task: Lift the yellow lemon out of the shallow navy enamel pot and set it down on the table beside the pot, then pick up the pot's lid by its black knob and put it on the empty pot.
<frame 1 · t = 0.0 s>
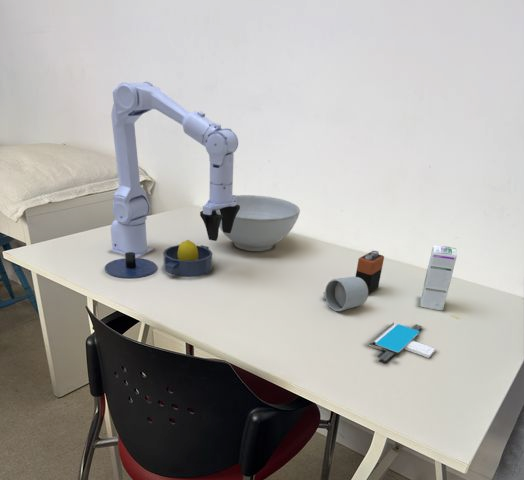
hand: (220, 236, 130), 10 cm above the table, tool pointing down, fingers open, 7 cm apart
pot: (188, 269, 136), on the table
pot lid: (131, 268, 132), point 1 cm above the table
battery: (365, 290, 132), on the table
lemon: (188, 269, 135), resting on pot
ceramic mug: (340, 305, 122), on the table
decorative bowl: (253, 245, 157), on the table
blue flat gadget: (404, 346, 107), on the table
syrup box: (430, 305, 126), on the table
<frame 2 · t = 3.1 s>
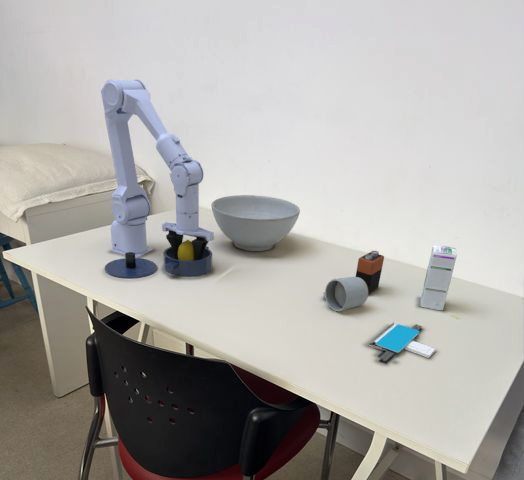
hand: (187, 261, 134), 2 cm above the table, tool pointing down, fingers closed on lemon, 5 cm apart
lemon: (188, 269, 135), resting on pot, touching gripper
everything else where it was.
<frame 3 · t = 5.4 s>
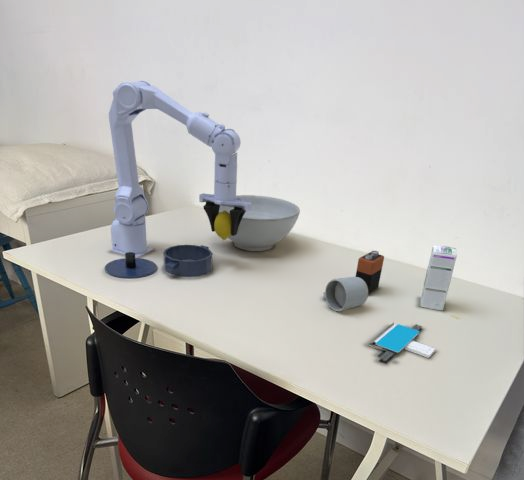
hand: (224, 232, 135), 9 cm above the table, tool pointing down, fingers closed on lemon, 5 cm apart
lemon: (224, 240, 136), point 7 cm above the table, touching gripper
everything else where it was.
when the fingers open (2 cm above the table, at t = 7.7 s): lemon stays where it is, on the table.
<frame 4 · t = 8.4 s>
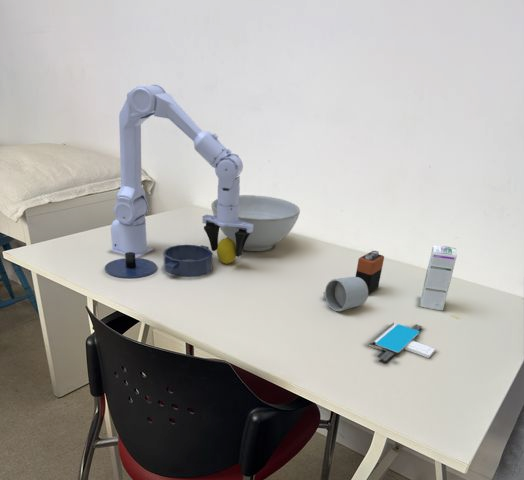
hand: (226, 252, 139), 4 cm above the table, tool pointing down, fingers open, 7 cm apart
lemon: (226, 265, 140), on the table
everything else where it was.
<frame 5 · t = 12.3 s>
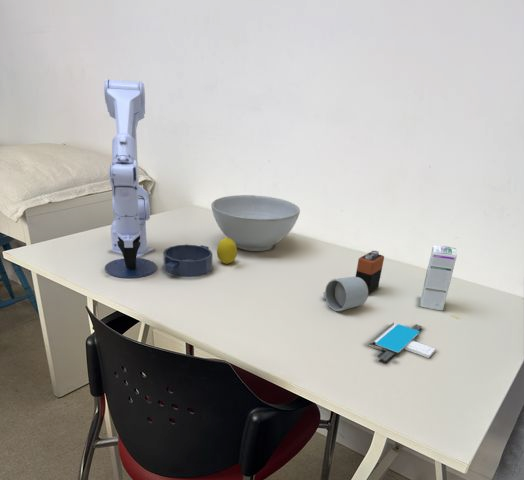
hand: (130, 265, 131), 2 cm above the table, tool pointing down, fingers closed on pot lid, 2 cm apart
pot lid: (131, 268, 132), point 1 cm above the table, touching gripper
everything else where it was.
when the fingers open (6 cm above the table, at t = 16.2 s): pot lid stays where it is, resting on pot.
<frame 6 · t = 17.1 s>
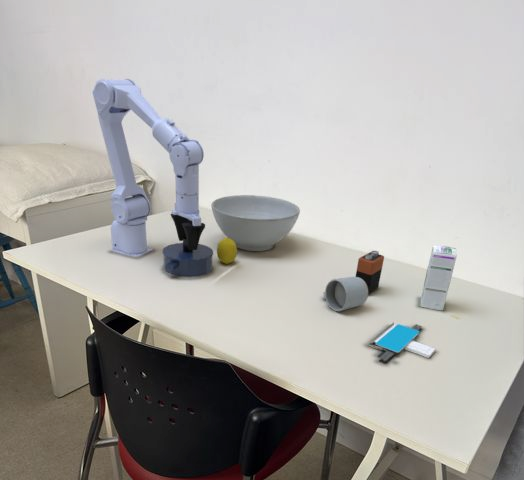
hand: (187, 244, 132), 7 cm above the table, tool pointing down, fingers open, 7 cm apart
pot lid: (187, 252, 133), point 5 cm above the table, touching pot
everything else where it was.
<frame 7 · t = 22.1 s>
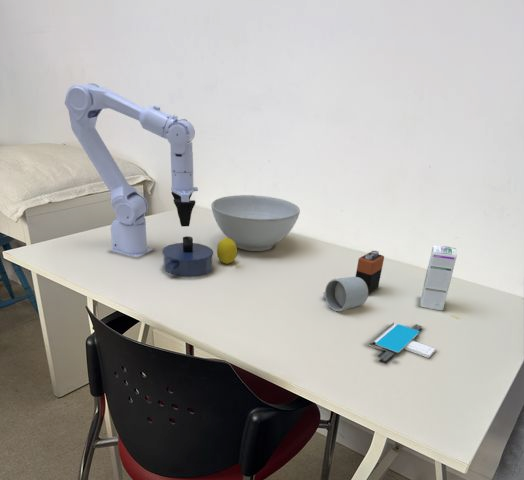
hand: (183, 221, 138), 10 cm above the table, tool pointing down, fingers open, 7 cm apart
nothing on the table moved.
at the end: lemon inside the target area (0.0 cm from its centre), on the table; pot lid 0.0 cm off-centre on the pot, point 4.8 cm above the pot's base; pot lid tilted 0° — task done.
